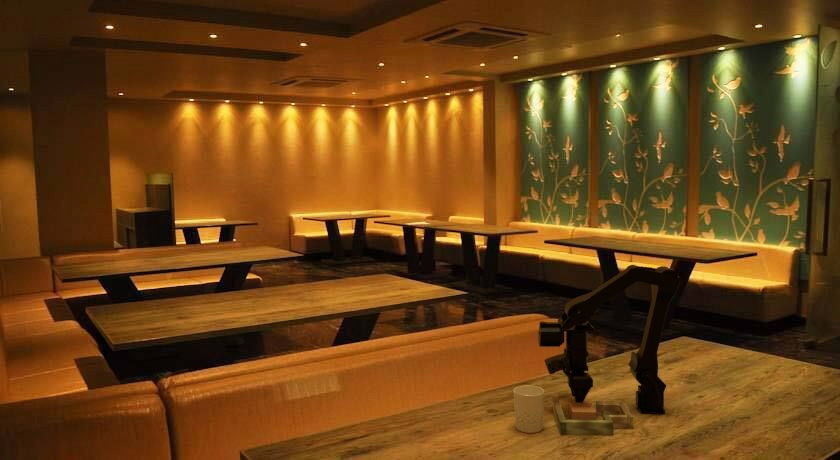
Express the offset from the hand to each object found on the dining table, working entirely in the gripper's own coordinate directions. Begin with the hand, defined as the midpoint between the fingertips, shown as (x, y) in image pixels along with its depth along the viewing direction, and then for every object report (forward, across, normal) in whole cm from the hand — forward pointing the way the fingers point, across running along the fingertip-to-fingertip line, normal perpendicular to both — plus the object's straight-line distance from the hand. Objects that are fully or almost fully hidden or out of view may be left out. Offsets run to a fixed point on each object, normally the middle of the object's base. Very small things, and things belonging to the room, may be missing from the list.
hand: (576, 401), depth 184 cm
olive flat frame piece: (+2, +10, +3) cm, 10 cm away
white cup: (+2, +14, -14) cm, 20 cm away
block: (+2, +9, 0) cm, 9 cm away
